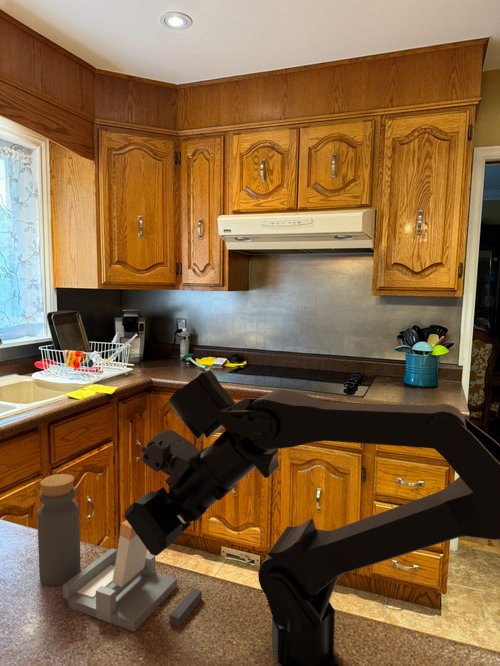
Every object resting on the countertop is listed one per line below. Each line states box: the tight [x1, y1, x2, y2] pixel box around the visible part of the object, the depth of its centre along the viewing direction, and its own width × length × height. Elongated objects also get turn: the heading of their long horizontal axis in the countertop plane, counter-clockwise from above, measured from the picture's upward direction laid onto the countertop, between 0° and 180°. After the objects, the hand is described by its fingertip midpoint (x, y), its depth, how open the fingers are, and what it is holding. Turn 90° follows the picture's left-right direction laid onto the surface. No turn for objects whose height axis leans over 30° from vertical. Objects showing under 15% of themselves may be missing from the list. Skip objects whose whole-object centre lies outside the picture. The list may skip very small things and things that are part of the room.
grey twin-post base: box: [62, 548, 178, 632], centre depth 65 cm, size 12×10×4 cm
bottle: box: [36, 473, 81, 586], centre depth 70 cm, size 6×6×15 cm
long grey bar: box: [168, 587, 203, 627], centre depth 62 cm, size 6×1×1 cm, turn 156°
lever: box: [112, 519, 148, 597], centre depth 64 cm, size 2×7×11 cm, turn 156°
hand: (149, 530), depth 63 cm, fingers closed
